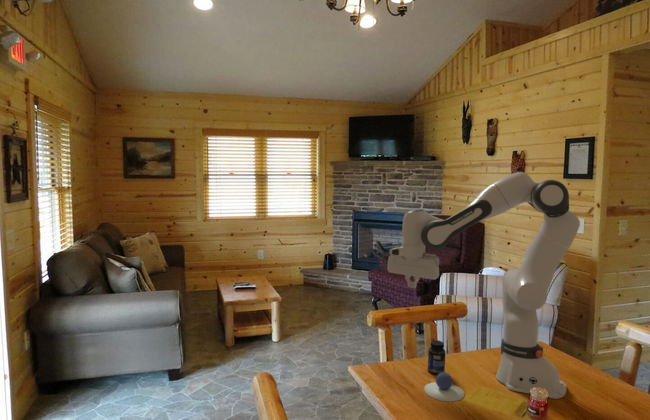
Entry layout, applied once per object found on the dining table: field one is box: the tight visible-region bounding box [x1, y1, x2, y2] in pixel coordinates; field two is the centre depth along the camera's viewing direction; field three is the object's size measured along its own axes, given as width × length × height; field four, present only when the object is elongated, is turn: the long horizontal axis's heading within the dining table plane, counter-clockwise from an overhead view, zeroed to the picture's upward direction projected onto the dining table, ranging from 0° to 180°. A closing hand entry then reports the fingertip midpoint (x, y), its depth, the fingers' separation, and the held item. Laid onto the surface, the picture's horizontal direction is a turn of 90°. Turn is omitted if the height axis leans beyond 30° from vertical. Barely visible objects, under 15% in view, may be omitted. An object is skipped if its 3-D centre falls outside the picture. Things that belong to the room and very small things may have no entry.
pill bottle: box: [427, 339, 446, 376], centre depth 167 cm, size 6×6×11 cm
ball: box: [435, 371, 454, 390], centre depth 154 cm, size 6×6×6 cm
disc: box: [423, 381, 465, 403], centre depth 152 cm, size 13×13×1 cm
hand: (412, 287), depth 174 cm, fingers closed
